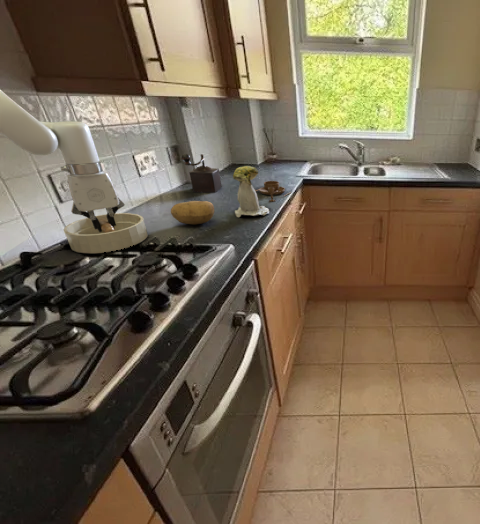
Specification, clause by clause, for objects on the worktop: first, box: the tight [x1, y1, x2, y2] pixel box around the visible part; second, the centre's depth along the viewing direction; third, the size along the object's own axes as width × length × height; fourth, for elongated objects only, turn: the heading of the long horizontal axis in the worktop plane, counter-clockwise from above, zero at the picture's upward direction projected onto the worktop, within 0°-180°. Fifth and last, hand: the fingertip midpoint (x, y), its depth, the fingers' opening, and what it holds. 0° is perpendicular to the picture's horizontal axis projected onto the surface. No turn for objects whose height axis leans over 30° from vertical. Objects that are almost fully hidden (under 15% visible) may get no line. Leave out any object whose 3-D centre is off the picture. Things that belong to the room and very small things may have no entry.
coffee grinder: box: [180, 153, 223, 194], centre depth 153 cm, size 16×11×18 cm
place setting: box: [255, 180, 293, 203], centre depth 154 cm, size 18×20×6 cm
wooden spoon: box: [99, 219, 115, 233], centre depth 101 cm, size 14×3×3 cm, turn 46°
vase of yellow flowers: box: [232, 165, 270, 218], centre depth 126 cm, size 12×13×18 cm
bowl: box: [63, 212, 149, 254], centre depth 102 cm, size 19×19×6 cm
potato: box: [170, 200, 215, 226], centre depth 117 cm, size 10×14×8 cm
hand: (106, 229), depth 102 cm, fingers closed on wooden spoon, 2 cm apart
